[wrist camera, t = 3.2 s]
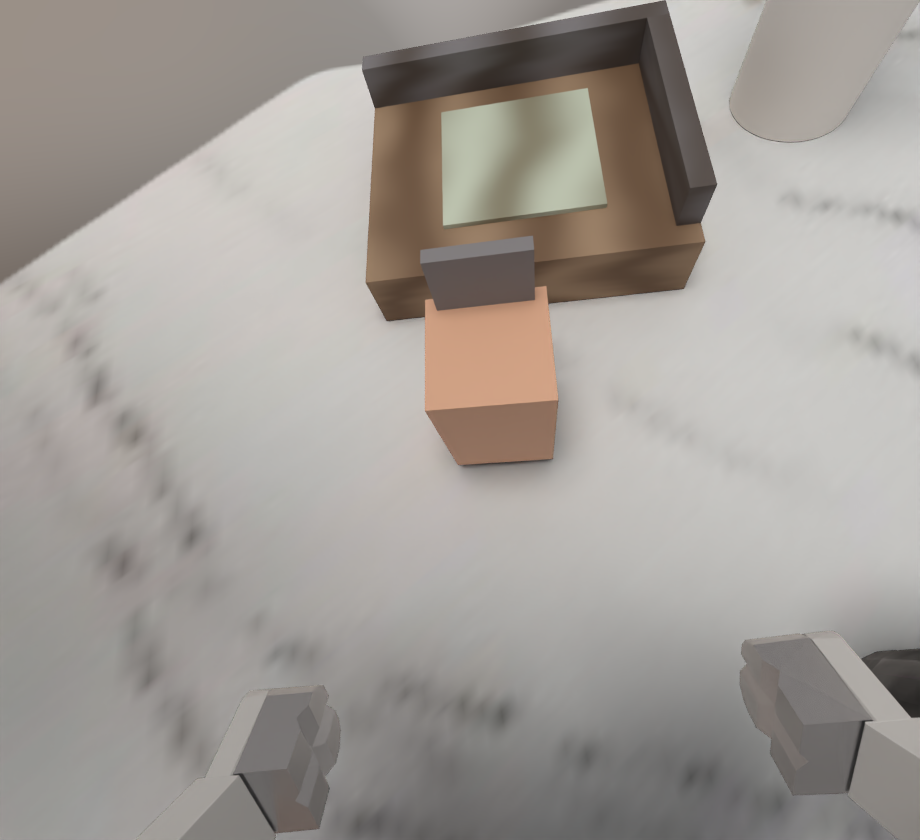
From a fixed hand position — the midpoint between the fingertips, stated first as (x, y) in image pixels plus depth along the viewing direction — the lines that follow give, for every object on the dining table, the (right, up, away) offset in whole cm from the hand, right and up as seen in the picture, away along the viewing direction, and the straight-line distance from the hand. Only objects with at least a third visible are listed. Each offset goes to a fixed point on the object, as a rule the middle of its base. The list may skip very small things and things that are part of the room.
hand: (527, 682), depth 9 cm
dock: (+3, +19, +23) cm, 30 cm away
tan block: (+1, +5, +18) cm, 18 cm away
